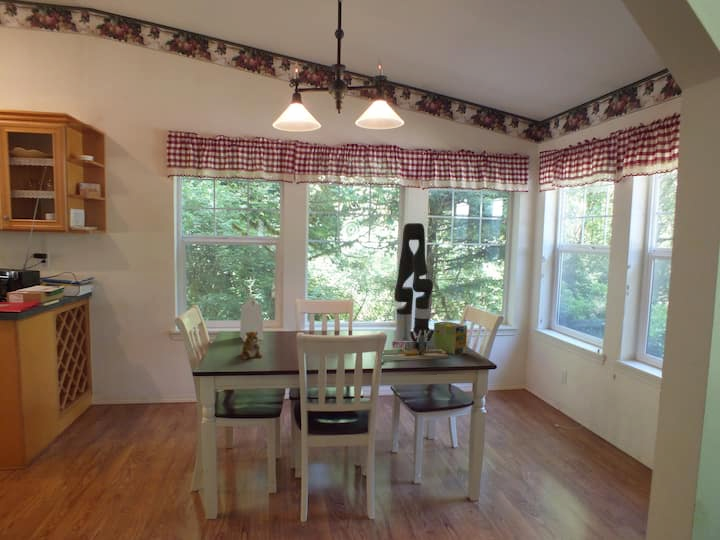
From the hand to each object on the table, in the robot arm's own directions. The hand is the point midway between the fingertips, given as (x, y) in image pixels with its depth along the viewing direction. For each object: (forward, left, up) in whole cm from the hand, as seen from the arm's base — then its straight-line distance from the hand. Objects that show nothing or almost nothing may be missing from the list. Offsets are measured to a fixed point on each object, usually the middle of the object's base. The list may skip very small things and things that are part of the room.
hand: (420, 348), depth 234 cm
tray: (0, -17, -5) cm, 18 cm away
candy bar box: (-13, +5, -1) cm, 15 cm away
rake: (0, 0, -3) cm, 3 cm away
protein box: (-8, +20, -5) cm, 23 cm away
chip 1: (0, -8, -4) cm, 8 cm away
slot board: (0, +1, -5) cm, 5 cm away
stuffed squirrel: (-17, -87, -5) cm, 89 cm away
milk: (-54, -87, -5) cm, 103 cm away
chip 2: (0, -4, -4) cm, 5 cm away
